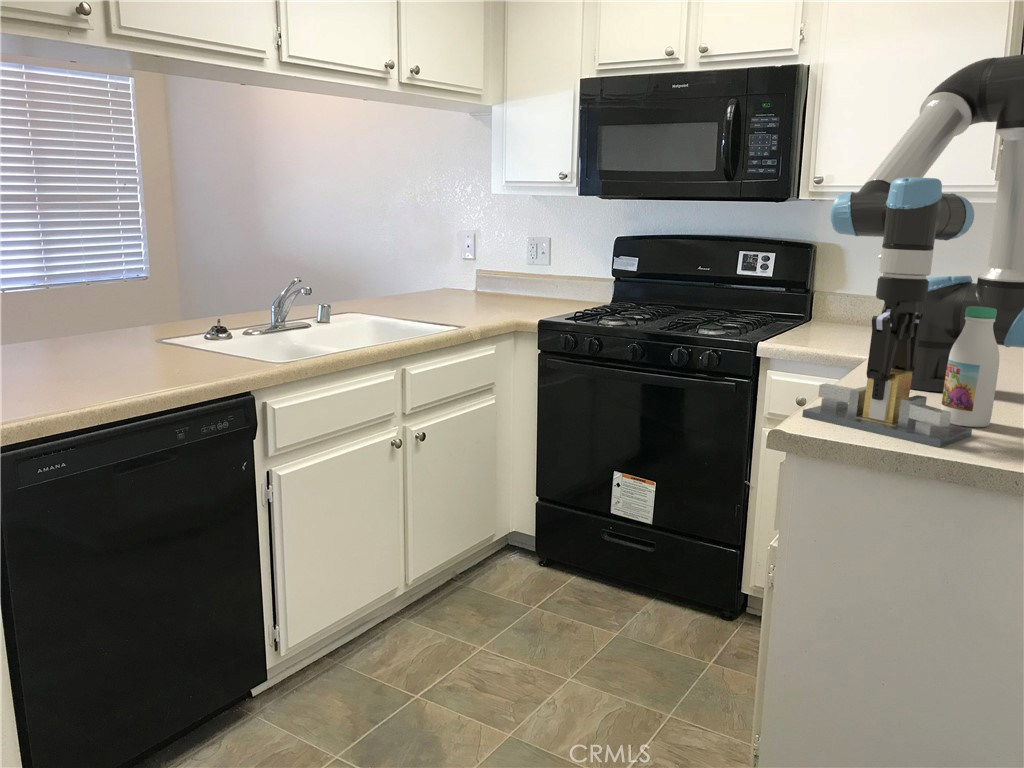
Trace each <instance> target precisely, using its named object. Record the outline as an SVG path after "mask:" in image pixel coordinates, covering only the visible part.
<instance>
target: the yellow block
mask: <svg viewBox="0 0 1024 768" xmlns="http://www.w3.org/2000/svg"><path fill="white" fill-rule="evenodd" d="M912 373H913V372H909V371H903V370H897V369H891V373H890V377H889V380H888V381H892V382H891V389H890V397H889V404H888V412H887V419H886V420H885V422H889V423H894V422H898V419H899V412H900V405H901V399H905V398H909V397H910V393H911V388H910V387H911V380H912ZM872 384H873V379H870V378H867V381H866V386H867V387H866V394H865V402H864V409H863V417H866V418H870V417H868V416H869V408H870V400H871V392H872ZM871 419H874V418H871ZM875 420H879V419H875ZM880 421H884V420H880Z"/></svg>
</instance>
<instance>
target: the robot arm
mask: <svg viewBox="0 0 1024 768" xmlns="http://www.w3.org/2000/svg"><path fill="white" fill-rule="evenodd" d="M980 123H996V127H995V132H996V133H997V135H999V137H1000V138H1002V140H1003V145H1002V153H1001V160H1000V166H999V167H1000V168H999V175H998V176H999V177H998V184H997V193H996V201H995V209H994V217H993V224H992V225H993V226H992V230H991V238H990V239H991V240H990V241H991V242H990V248H989V256H988V265H987V268H986V269H985V270H983V271H982V272H981V273H979V274H978V275H977V281H976V283H974V281H973V278H972V276H971V275H950V276H932V277H931V276H930V275H931V273H932V272H931V271H932V265H933V258H934V246H935V240H939V241H950V240H953V239H958V238H960V237H962V236H963V235H965V234H966V233H967V232H968V231H969V230H970V229H971V227H972V226H973V223H974V220H975V210H974V207H973V204H972V203H971V202H970V201H969V199H967V198H966V197H964V196H961V195H957V194H956V193H953V192H952V193H945V192H944V193H943V192H942V189H943V183H942V181H941V180H940V179H939V178H935V177H934V178H933V177H925V175H926V174H927V172H929V170H930V169H931V168H932V166H933V165H934V163H936V161H937V159H939V157H940V155H941V154H942V153H943V152H944V151H945V149H946V148H947V147H948V145H949V144H950V143H951V141H953V139H954V138H955V137H957V136H960V135H961V134H963V133H964V132H965V131H966V130H968V128H969V127H970V126H972V125H976V124H980ZM829 217H830V223H831V227H832V229H833V230H834V231H835V233H837V234H840V235H847V236H854V237H873V238H874V237H875V238H876V237H879V238H882V239H883V240H882V245H881V253H880V254H879V255H878V259H879V260H880V262H879V263H880V264H879V269H878V270H879V272H880V273H881V274H882V275H881V276H879V278H877V284H876V292H875V297H876V299H877V300H879V301H880V300H881V301H883V302H884V304H883V306H882V310H881V315H873V316H872V317H871V336H870V346H869V352H868V360H867V366H866V378H867V379H868V378H870V379H873V384H872V392H871V400H870V408H869V416H868V417H870V418H874V419H879V420H884V421H885V420H886V419H887V412H888V404H889V397H890V389H891V382H892V381H888V380H889V377H890V373H891V369H897V370H903V371H909V372H913V373H912V380H911V387H910V390H911V389H912V390H919V391H927V392H938V393H939V392H942V393H943V390H944V384H945V377H946V371H947V365H948V359H949V355H950V351H951V349H952V346H953V344H954V343H955V341H956V340H957V338H958V337H959V335H960V334H961V332H962V330H963V328H964V326H965V322H966V320H965V319H964V318H965V311H966V308H967V307H969V306H977V307H989V308H995V309H997V315H996V318H995V322H994V323H993V331H994V336H995V340H996V343H997V346H1004V347H1006V348H1012V347H1013V348H1022V349H1023V348H1024V54H1016V55H1007V56H1001V57H999V56H998V57H988V58H984V59H981V60H978V61H975V62H972V63H971V64H968V65H966V66H964V67H962V68H961V69H958V70H957V71H956V72H955V73H953V74H951V75H950V76H949V77H947V78H946V79H945V80H942V82H941V83H940V84H938V86H936V87H935V88H934V89H933V90H932V91H931V92H930V93H929V94H928V95H927V97H926V98H925V99H924V101H923V102H922V104H921V105H920V107H919V115H918V117H917V118H916V119H915V120H914V122H913V123H912V124H911V125H910V127H909V128H908V129H907V130H906V132H905V133H904V134H903V136H902V137H901V138H900V139H899V140H898V142H896V144H895V146H894V147H893V148H892V149H891V150H890V152H889V153H888V154H887V155H886V157H885V158H884V159H883V161H882V162H881V163H880V164H879V166H878V167H877V168H876V169H875V171H874V172H873V173H872V175H871V176H870V177H868V179H867V181H866V182H864V184H863V186H861V188H860V189H859V191H857V192H854V191H850V192H845V193H841V194H838V196H836V197H835V199H834V201H833V203H832V205H831V209H830V216H829ZM928 276H929V277H928Z"/></svg>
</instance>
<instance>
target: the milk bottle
mask: <svg viewBox="0 0 1024 768" xmlns="http://www.w3.org/2000/svg"><path fill="white" fill-rule="evenodd" d="M996 315H997V309H995V308H989V307H977V306H969V307H967V308H966V311H965V318H964V319H965V320H966V322H965V326H964V328H963V330H962V332H961V334H960V335H959V337H958V338H957V340H956V341H955V343H954V344H953V346H952V349H951V351H950V355H949V359H948V365H947V371H946V377H945V384H944V390H943V392H942V396H941V397H942V398H941V399H942V400H941V405H940V409H942V410H945V411H949V412H952V413H951V420H950V424H951V425H956V426H961V427H966V428H987V427H989V425H990V423H991V419H992V414H993V407H994V403H995V401H994V400H995V396H996V395H995V394H996V388H997V382H998V374H999V369H1000V368H999V367H1000V349H999V345H997V343H996V340H995V336H994V331H993V323H994V322H995V318H996Z"/></svg>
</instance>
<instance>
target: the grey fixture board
mask: <svg viewBox="0 0 1024 768" xmlns="http://www.w3.org/2000/svg"><path fill="white" fill-rule="evenodd" d="M866 387H867V385H866V386H861V387H857V388H852V387H848V386H843V385H837V384H832V383H820V384H819V388H818V398H821V403H820V405H818V406H817V405H816V406H813V407H809V408H804V409H802V417H803V418H807V419H811V420H817V421H819V422H820V421H821V422H825V423H828V424H833V423H834V425H838V426H843V427H847V428H852V429H857V430H860V431H864V432H869V433H874V434H879V435H883V436H887V437H891V438H896V439H900V440H904V441H910V442H913V443H917V444H922V445H927V446H931V447H936V448H943V447H945V446H948V445H951V444H955V443H956V442H959V441H961V440H965V439H967V438H970V437H972V433H973V428H972V427H967V426H960V425H955V424H951V423H950V420H951V413H952V412H949V411H945V410H942V409H941V408H937V407H935V406H930V405H927V397H928V396H924V395H919V394H918V395H912V396H909V398H905V399H901V405H900V412H899V419H898V422H894V423H889V422H885V421H880V420H875V419H871V418H866V417H863V409H864V402H865V394H866Z"/></svg>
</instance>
